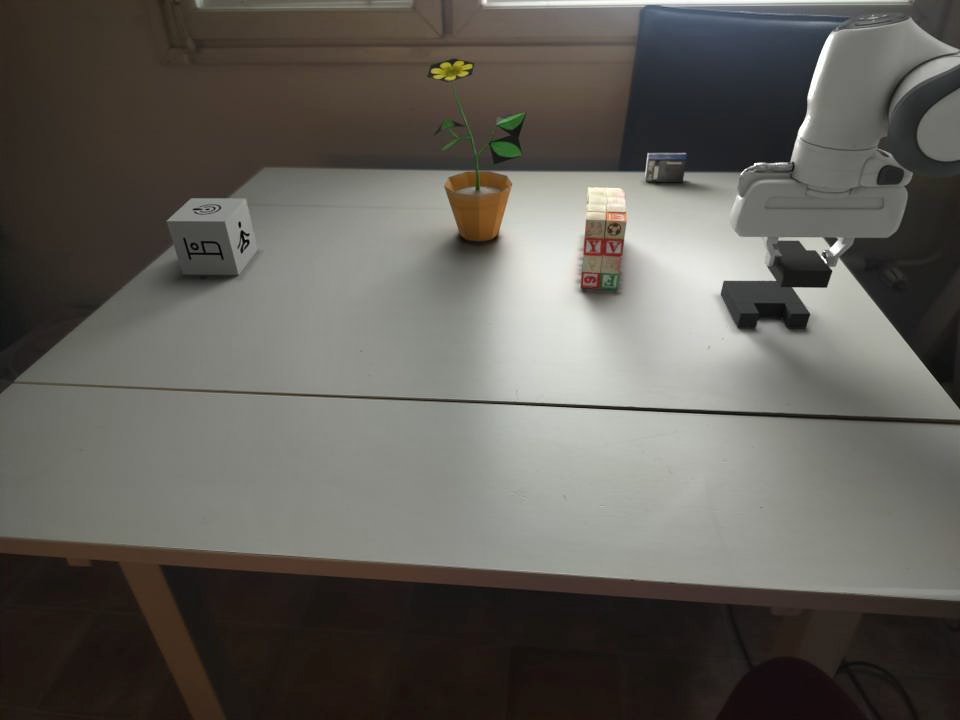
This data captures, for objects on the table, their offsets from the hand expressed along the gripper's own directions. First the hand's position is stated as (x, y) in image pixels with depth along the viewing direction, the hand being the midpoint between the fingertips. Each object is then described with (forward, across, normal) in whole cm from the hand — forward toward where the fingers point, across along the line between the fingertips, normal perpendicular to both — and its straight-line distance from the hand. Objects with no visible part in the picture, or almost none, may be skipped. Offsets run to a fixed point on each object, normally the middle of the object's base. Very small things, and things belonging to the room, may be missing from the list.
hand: (799, 264), depth 89 cm
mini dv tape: (+13, -4, +64) cm, 66 cm away
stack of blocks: (+13, -23, +26) cm, 36 cm away
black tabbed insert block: (+2, 0, +1) cm, 2 cm away
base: (+12, 0, +8) cm, 15 cm away
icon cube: (+13, -91, +25) cm, 95 cm away
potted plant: (+13, -45, +37) cm, 59 cm away
